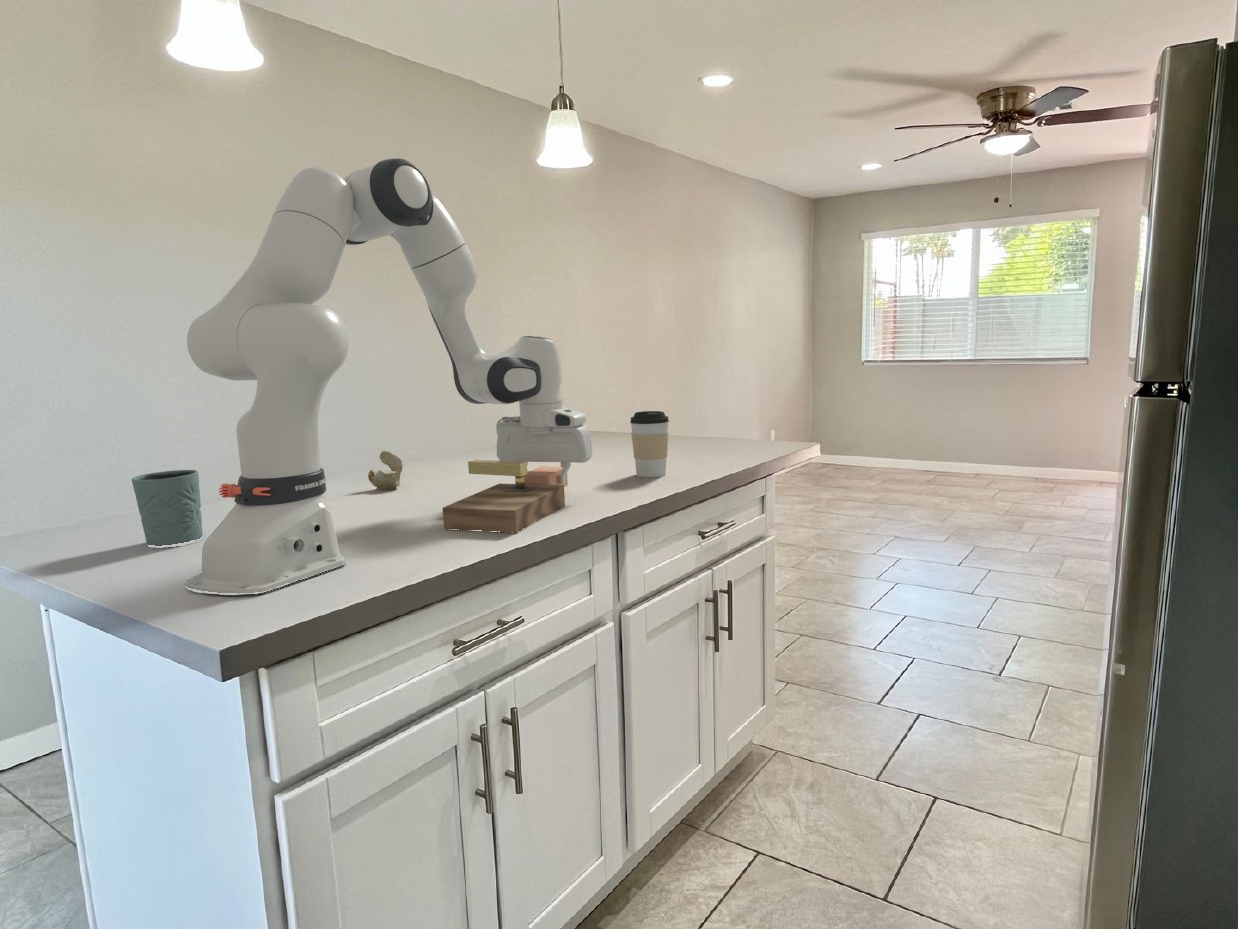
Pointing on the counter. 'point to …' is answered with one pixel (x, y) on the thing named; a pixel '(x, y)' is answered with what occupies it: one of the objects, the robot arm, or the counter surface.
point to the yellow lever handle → (500, 469)
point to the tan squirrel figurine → (387, 472)
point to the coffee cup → (650, 443)
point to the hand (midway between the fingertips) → (545, 483)
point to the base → (504, 507)
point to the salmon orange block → (544, 476)
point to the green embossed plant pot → (169, 506)
